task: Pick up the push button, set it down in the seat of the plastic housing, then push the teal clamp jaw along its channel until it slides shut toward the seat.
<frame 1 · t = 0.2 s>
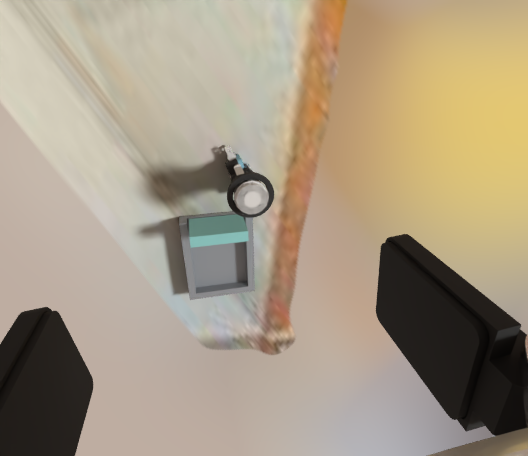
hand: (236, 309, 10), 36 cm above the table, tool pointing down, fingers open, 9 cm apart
push button: (237, 166, 45), on the table
housing: (218, 251, 51), on the table
clamp jaw: (217, 229, 45), point 4 cm above the table, slide at 0.0 cm
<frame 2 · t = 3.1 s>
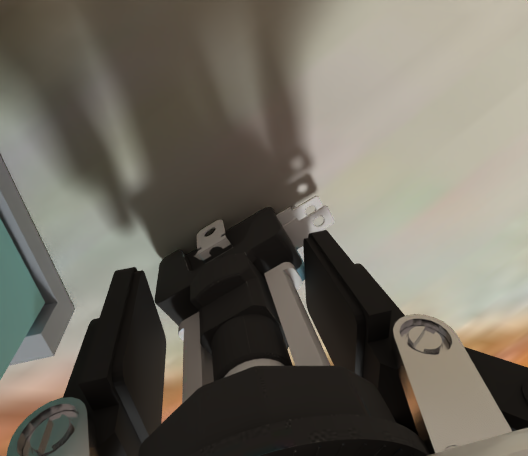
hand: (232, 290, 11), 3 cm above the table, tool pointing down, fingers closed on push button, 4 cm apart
push button: (242, 240, 13), on the table, touching gripper
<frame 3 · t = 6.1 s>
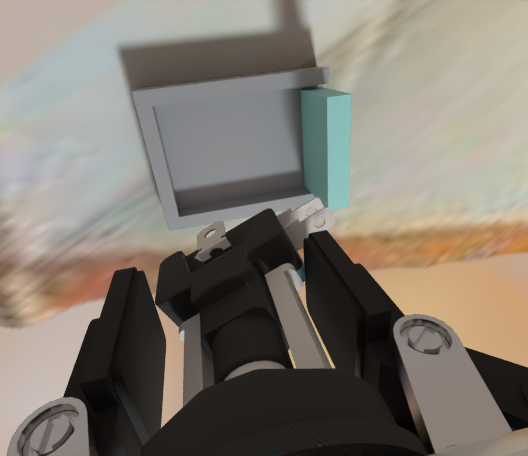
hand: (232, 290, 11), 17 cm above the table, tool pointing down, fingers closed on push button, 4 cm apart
push button: (243, 241, 13), point 15 cm above the table, touching gripper
housing: (239, 146, 26), on the table
clamp jaw: (324, 147, 24), point 4 cm above the table, slide at 0.2 cm
when the fingers open (4 cm above the table, at t = 9.0 s): push button stays where it is, resting on housing.
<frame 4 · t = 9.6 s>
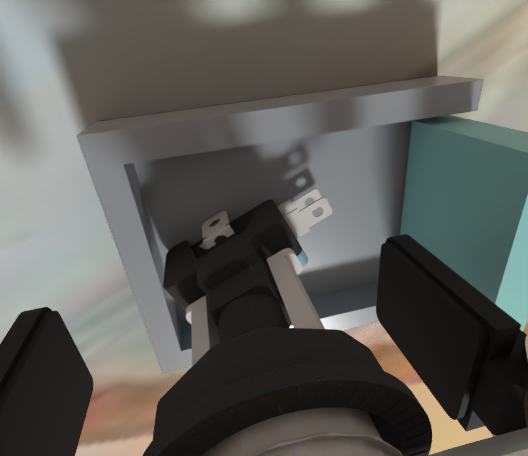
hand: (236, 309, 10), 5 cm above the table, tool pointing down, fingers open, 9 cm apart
push button: (245, 232, 14), point 1 cm above the table, touching housing
housing: (287, 217, 15), on the table
clamp jaw: (461, 233, 12), point 4 cm above the table, slide at 0.2 cm
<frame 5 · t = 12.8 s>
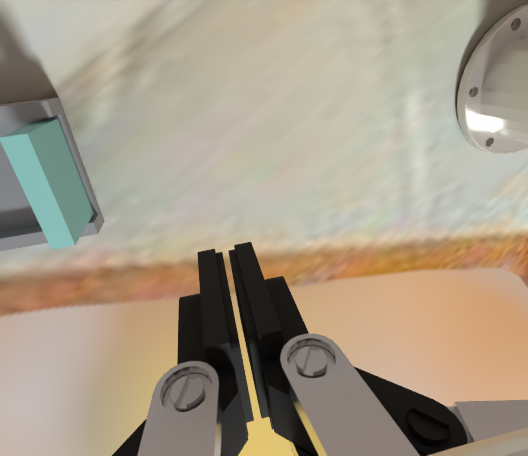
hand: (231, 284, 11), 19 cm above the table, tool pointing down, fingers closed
clamp jaw: (54, 182, 23), point 4 cm above the table, slide at 0.2 cm
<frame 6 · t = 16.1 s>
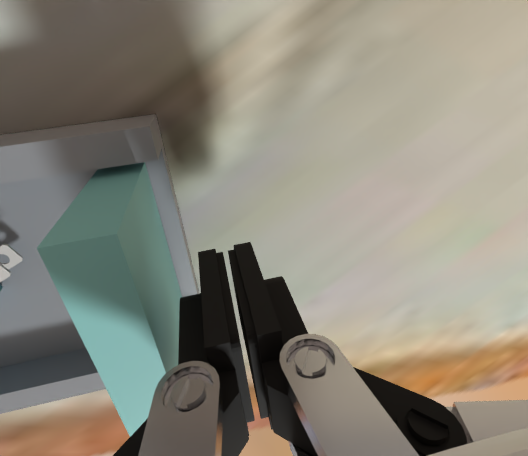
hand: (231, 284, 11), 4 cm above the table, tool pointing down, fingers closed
housing: (19, 268, 13), on the table
clamp jaw: (143, 301, 11), point 4 cm above the table, slide at 0.6 cm, touching gripper
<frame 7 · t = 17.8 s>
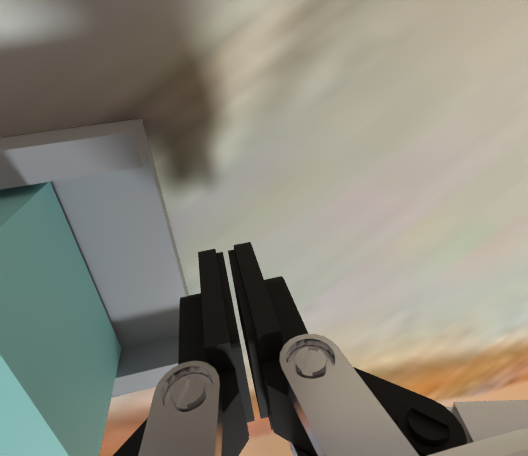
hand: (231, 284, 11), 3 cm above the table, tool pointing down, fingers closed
housing: (1, 279, 13), on the table
clamp jaw: (42, 333, 10), point 4 cm above the table, slide at 3.0 cm
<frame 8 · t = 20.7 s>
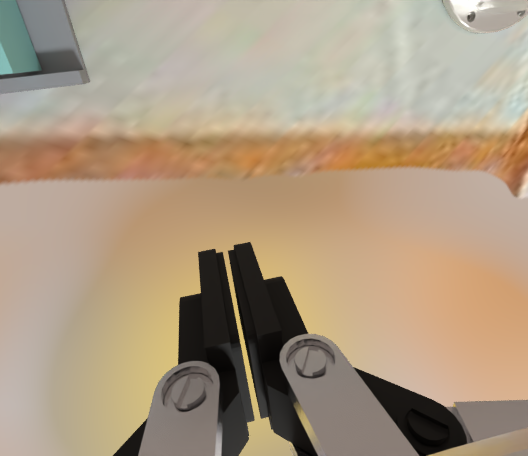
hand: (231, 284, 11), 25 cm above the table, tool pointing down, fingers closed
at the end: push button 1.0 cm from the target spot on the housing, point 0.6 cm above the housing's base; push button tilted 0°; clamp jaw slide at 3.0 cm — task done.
